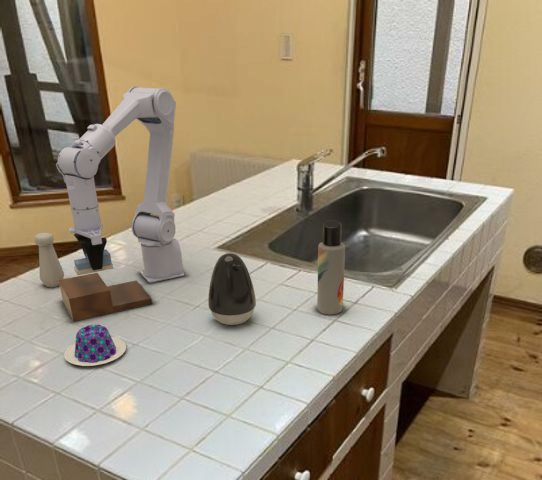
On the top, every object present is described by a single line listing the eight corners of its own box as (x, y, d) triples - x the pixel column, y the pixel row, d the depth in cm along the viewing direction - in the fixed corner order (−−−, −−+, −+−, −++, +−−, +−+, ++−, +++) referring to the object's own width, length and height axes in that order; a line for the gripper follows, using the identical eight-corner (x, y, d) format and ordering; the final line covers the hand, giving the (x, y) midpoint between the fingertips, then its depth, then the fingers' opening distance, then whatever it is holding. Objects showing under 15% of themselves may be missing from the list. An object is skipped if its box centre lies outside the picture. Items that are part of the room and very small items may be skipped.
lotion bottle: (345, 305, 137) (348, 219, 127) (339, 316, 133) (342, 227, 123) (320, 302, 139) (322, 217, 129) (314, 313, 134) (315, 225, 124)
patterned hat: (65, 344, 125) (60, 321, 122) (124, 335, 127) (120, 313, 125) (64, 373, 115) (59, 349, 112) (129, 363, 117) (125, 339, 115)
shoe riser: (137, 286, 150) (134, 265, 147) (152, 304, 141) (149, 282, 138) (63, 301, 143) (58, 280, 140) (73, 321, 134) (68, 298, 131)
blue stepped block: (109, 263, 140) (107, 249, 138) (113, 268, 137) (111, 253, 135) (74, 270, 136) (71, 255, 135) (77, 275, 134) (74, 260, 132)
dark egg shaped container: (221, 335, 127) (216, 266, 119) (202, 316, 135) (197, 250, 127) (265, 324, 130) (262, 257, 123) (244, 306, 138) (241, 242, 131)
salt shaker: (58, 289, 149) (47, 238, 143) (37, 288, 150) (25, 237, 144) (69, 280, 154) (59, 230, 148) (49, 279, 155) (38, 229, 149)
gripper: (59, 201, 134) (70, 259, 141) (72, 218, 123) (84, 280, 129) (91, 196, 137) (100, 254, 143) (107, 212, 125) (117, 274, 132)
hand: (95, 266), depth 137 cm, fingers closed on blue stepped block, 3 cm apart
